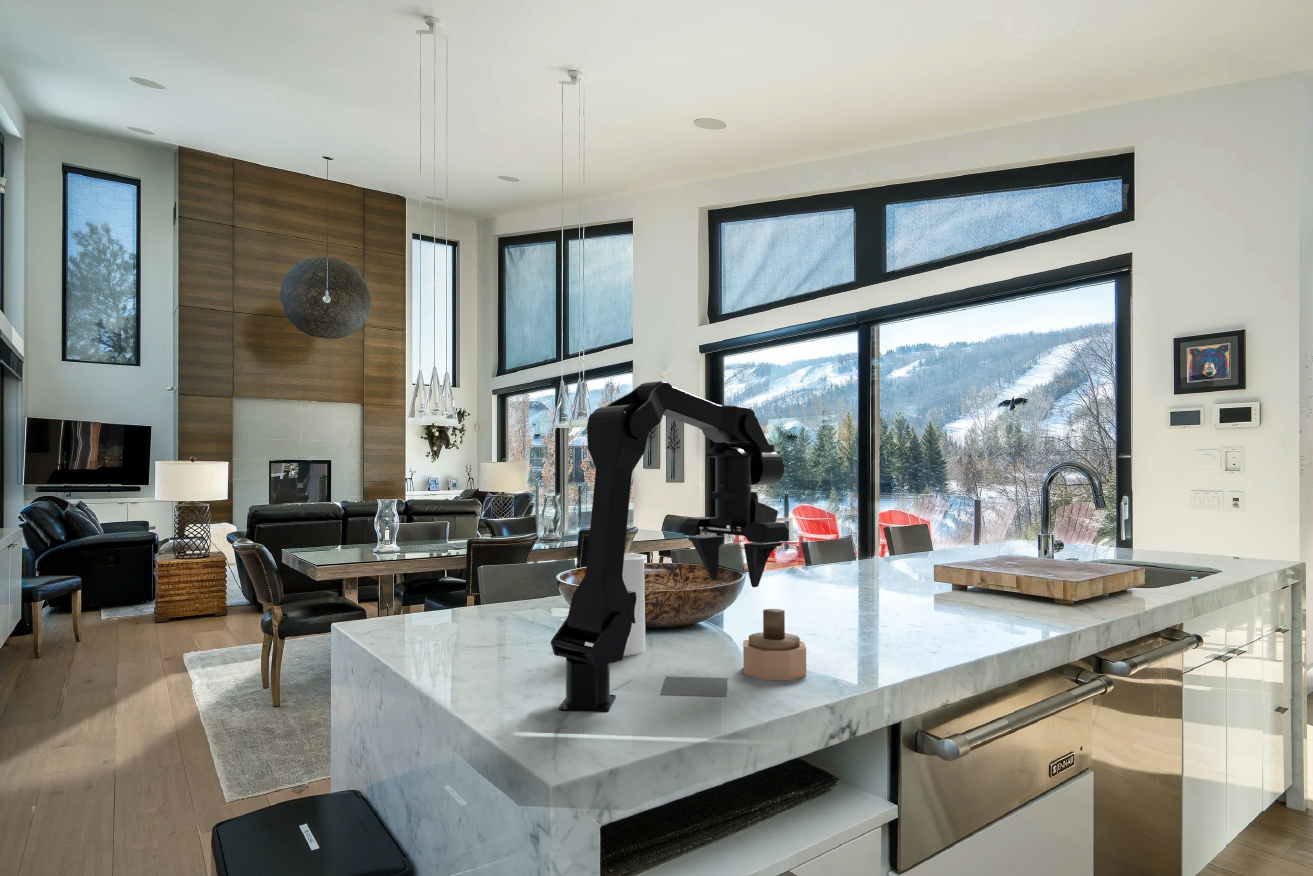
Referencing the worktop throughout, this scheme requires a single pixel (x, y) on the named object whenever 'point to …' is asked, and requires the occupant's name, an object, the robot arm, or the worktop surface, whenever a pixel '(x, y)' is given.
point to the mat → (695, 686)
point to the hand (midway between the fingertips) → (734, 583)
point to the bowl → (774, 662)
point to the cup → (635, 583)
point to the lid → (774, 633)
